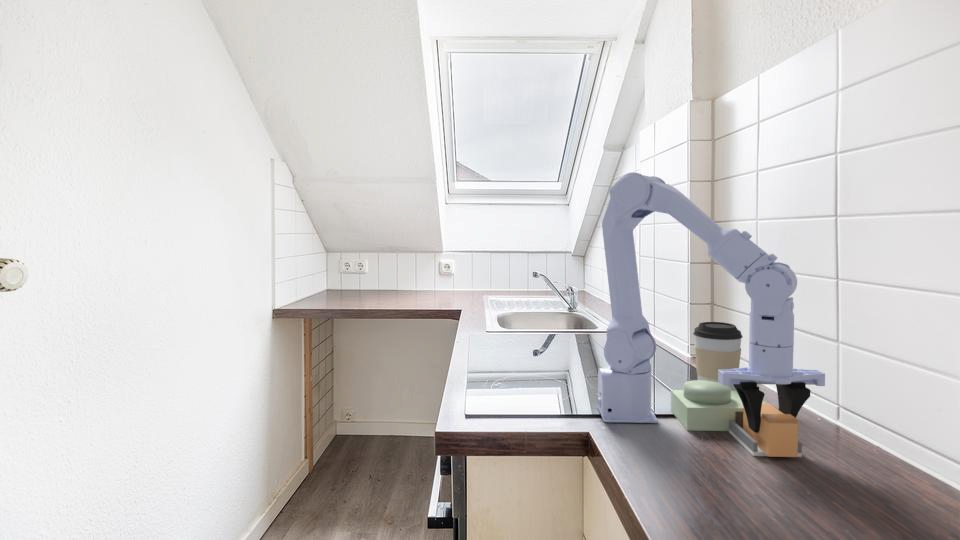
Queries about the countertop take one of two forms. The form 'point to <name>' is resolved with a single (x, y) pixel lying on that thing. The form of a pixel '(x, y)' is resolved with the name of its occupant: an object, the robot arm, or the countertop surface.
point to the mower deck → (714, 411)
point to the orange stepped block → (775, 432)
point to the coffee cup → (716, 349)
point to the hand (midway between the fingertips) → (769, 430)
